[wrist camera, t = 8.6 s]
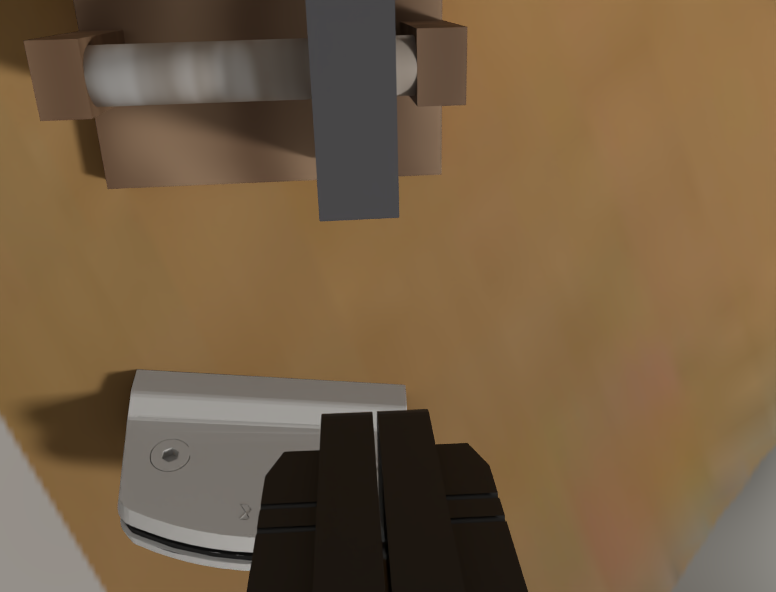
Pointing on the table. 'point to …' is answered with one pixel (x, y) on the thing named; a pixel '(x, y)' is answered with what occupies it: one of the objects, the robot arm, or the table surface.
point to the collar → (354, 107)
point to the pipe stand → (228, 88)
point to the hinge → (221, 454)
